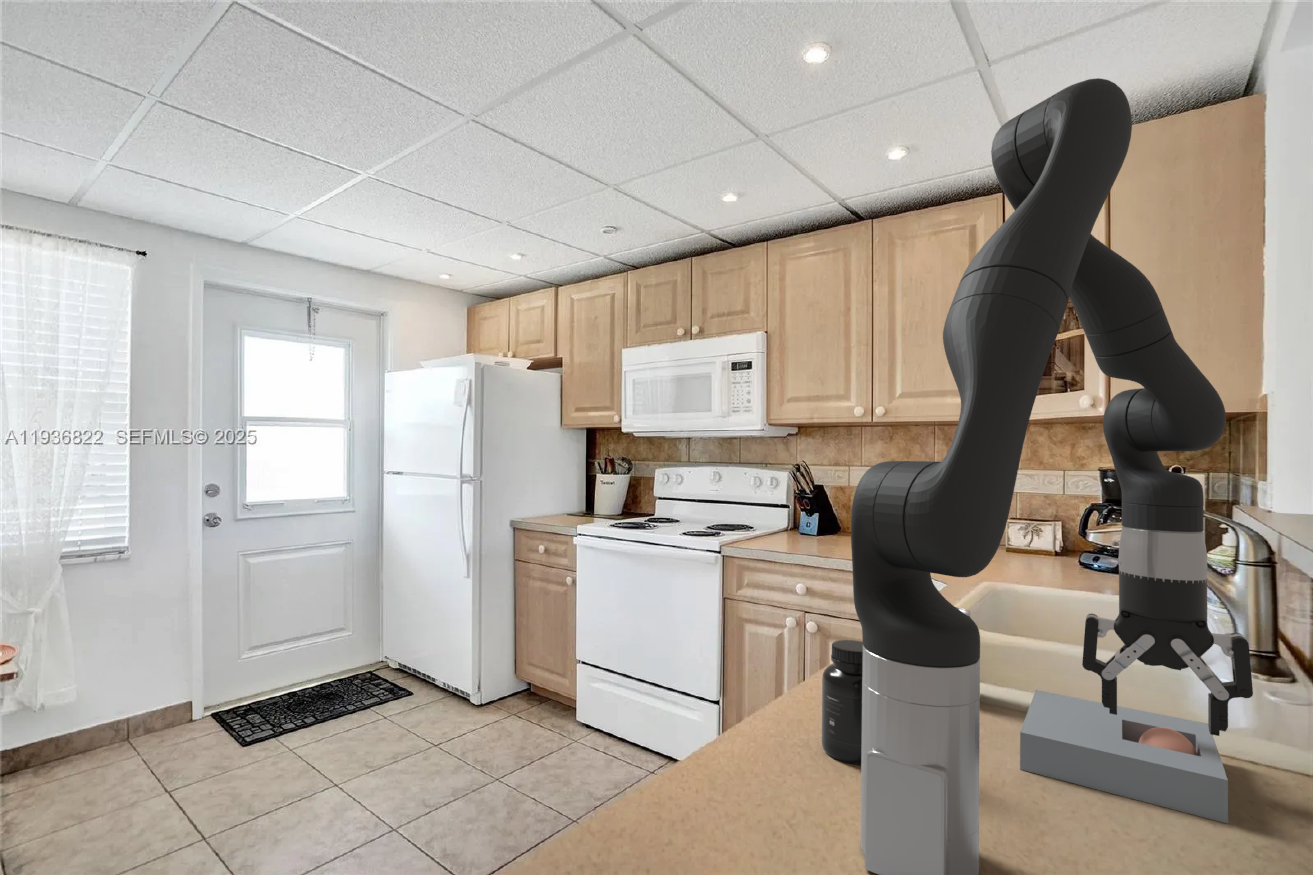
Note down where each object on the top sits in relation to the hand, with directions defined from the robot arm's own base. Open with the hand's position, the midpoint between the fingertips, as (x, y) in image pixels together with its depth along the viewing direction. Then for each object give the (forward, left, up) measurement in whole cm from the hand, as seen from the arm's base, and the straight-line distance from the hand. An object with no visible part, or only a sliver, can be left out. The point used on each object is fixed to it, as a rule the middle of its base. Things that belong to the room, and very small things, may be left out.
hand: (1162, 722), depth 70 cm
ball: (0, 0, -3) cm, 3 cm away
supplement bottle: (-15, +29, -6) cm, 33 cm away
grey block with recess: (0, +4, -6) cm, 7 cm away
